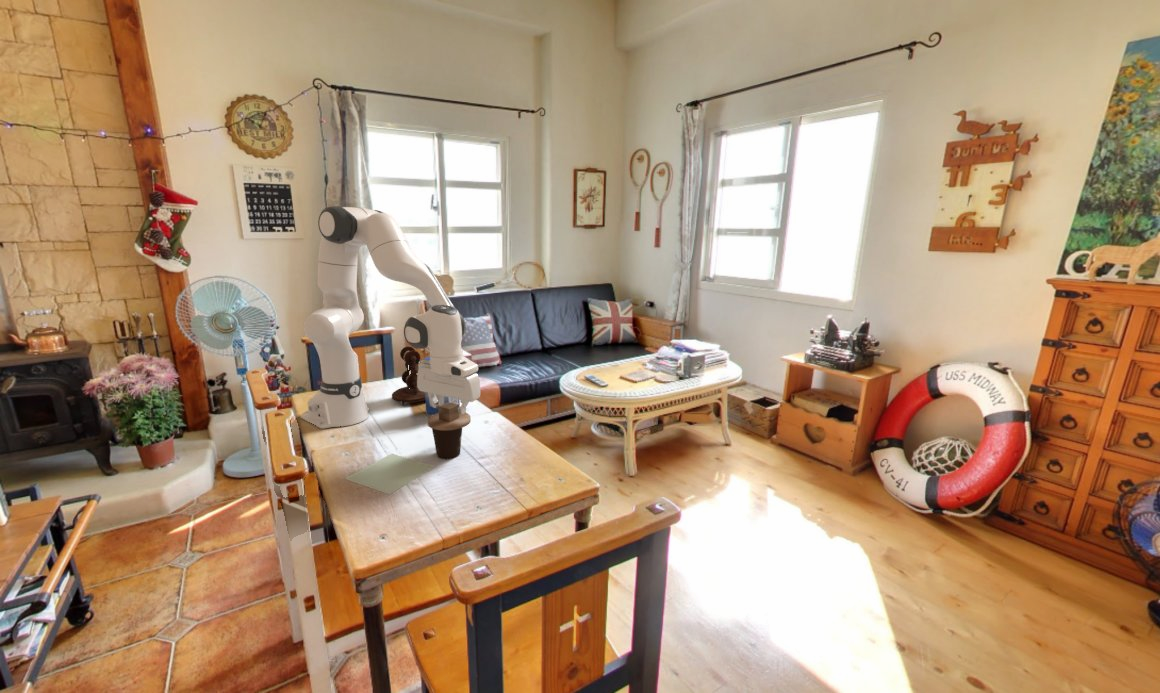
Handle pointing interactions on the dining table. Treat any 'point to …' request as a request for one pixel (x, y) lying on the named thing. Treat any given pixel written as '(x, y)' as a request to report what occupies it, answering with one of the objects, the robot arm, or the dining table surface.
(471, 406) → the dining table surface
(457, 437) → the coffee mug
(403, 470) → the mat
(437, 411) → the milk carton
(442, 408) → the lid
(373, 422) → the dining table surface
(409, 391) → the dark brown tall piece
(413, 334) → the robot arm
